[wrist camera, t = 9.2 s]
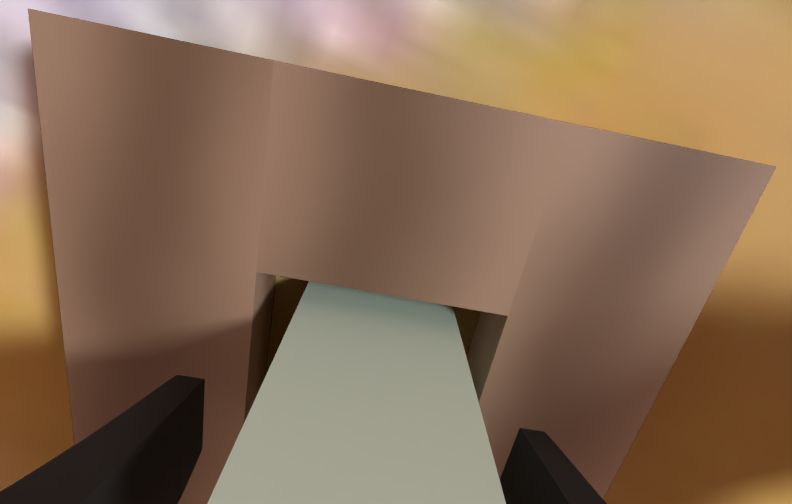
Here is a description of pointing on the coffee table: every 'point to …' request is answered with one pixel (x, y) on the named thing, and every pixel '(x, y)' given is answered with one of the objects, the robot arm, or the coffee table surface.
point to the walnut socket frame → (363, 234)
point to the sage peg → (364, 410)
